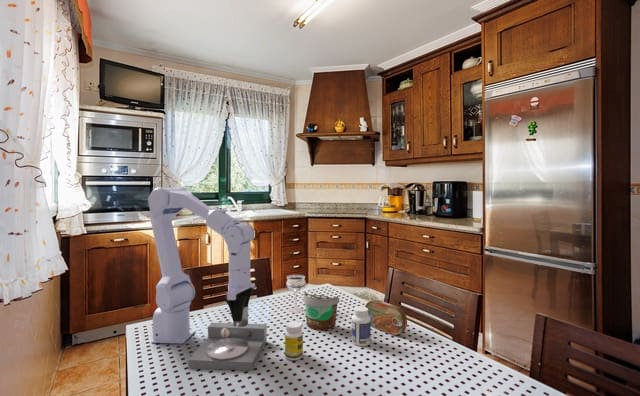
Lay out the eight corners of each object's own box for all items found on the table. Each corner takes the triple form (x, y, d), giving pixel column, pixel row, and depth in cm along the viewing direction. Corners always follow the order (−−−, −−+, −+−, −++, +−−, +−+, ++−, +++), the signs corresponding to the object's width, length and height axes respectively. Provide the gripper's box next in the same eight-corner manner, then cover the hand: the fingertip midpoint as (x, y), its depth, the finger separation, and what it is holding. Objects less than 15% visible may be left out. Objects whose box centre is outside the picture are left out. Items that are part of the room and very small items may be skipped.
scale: (188, 367, 80) (187, 347, 80) (212, 339, 95) (212, 322, 95) (252, 370, 79) (252, 350, 79) (266, 341, 94) (266, 324, 94)
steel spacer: (231, 327, 87) (231, 310, 87) (234, 321, 91) (234, 305, 91) (246, 327, 87) (246, 310, 87) (249, 320, 91) (249, 305, 91)
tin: (363, 323, 107) (363, 297, 107) (369, 320, 109) (370, 295, 109) (402, 339, 95) (402, 311, 95) (408, 336, 97) (409, 308, 97)
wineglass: (296, 305, 123) (296, 273, 123) (309, 310, 118) (309, 277, 118) (282, 310, 118) (282, 277, 118) (295, 315, 113) (295, 280, 113)
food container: (296, 328, 103) (296, 296, 103) (304, 320, 109) (304, 290, 108) (333, 334, 98) (333, 301, 98) (339, 326, 104) (339, 295, 104)
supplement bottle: (300, 361, 83) (300, 329, 83) (282, 359, 84) (282, 327, 84) (304, 352, 88) (304, 321, 88) (287, 350, 89) (287, 320, 88)
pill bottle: (372, 340, 95) (372, 307, 95) (367, 348, 90) (367, 313, 90) (354, 336, 97) (355, 304, 97) (348, 344, 92) (349, 310, 92)
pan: (199, 359, 80) (199, 356, 80) (215, 339, 91) (215, 337, 91) (241, 361, 79) (241, 358, 79) (252, 341, 90) (252, 338, 90)
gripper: (246, 275, 81) (246, 329, 81) (260, 262, 95) (260, 308, 96) (218, 274, 81) (219, 328, 82) (236, 261, 96) (237, 307, 96)
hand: (239, 317), depth 89 cm, fingers closed on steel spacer, 4 cm apart
